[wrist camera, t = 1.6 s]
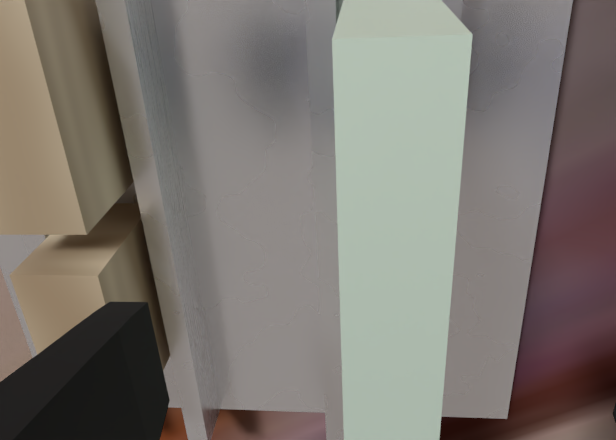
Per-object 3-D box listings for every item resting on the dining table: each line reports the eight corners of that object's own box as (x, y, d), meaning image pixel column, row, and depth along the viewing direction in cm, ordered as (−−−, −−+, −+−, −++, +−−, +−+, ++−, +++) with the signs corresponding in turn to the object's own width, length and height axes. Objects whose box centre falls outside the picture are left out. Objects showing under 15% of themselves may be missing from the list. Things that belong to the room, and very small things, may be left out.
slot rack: (589, -215, 11) (645, -250, 9) (500, 394, 18) (518, 459, 16) (-118, -160, 13) (-222, -176, 10) (62, 381, 20) (25, 439, 18)
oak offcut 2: (152, 203, 15) (97, 275, 12) (178, 336, 17) (137, 426, 14) (81, 203, 15) (9, 275, 12) (115, 334, 17) (61, 424, 14)
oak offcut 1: (108, -20, 13) (24, 0, 9) (145, 168, 15) (86, 234, 12) (23, -16, 13) (-86, 5, 10) (72, 169, 15) (-5, 234, 12)
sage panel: (410, -34, 12) (472, 33, 5) (398, 340, 16) (422, 653, 9) (352, -32, 12) (332, 39, 5) (357, 339, 17) (349, 647, 10)
